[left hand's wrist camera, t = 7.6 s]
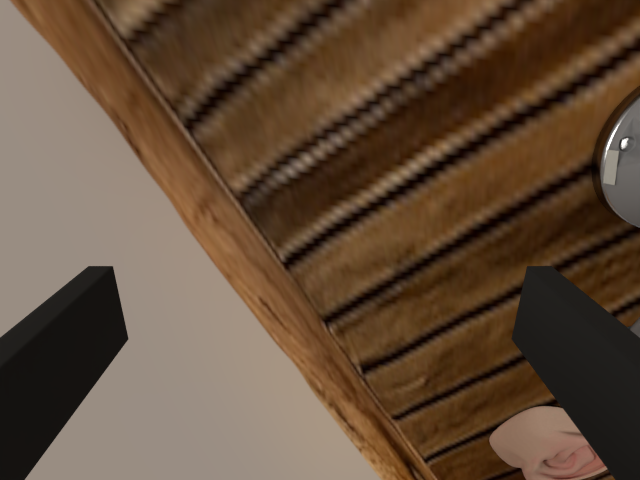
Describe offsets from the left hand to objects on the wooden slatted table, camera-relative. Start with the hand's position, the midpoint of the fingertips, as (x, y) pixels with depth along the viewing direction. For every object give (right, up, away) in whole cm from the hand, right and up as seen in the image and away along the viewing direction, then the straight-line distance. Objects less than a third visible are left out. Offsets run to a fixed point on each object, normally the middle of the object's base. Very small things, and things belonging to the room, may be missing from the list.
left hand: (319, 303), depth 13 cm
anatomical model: (+29, -24, +39) cm, 55 cm away
